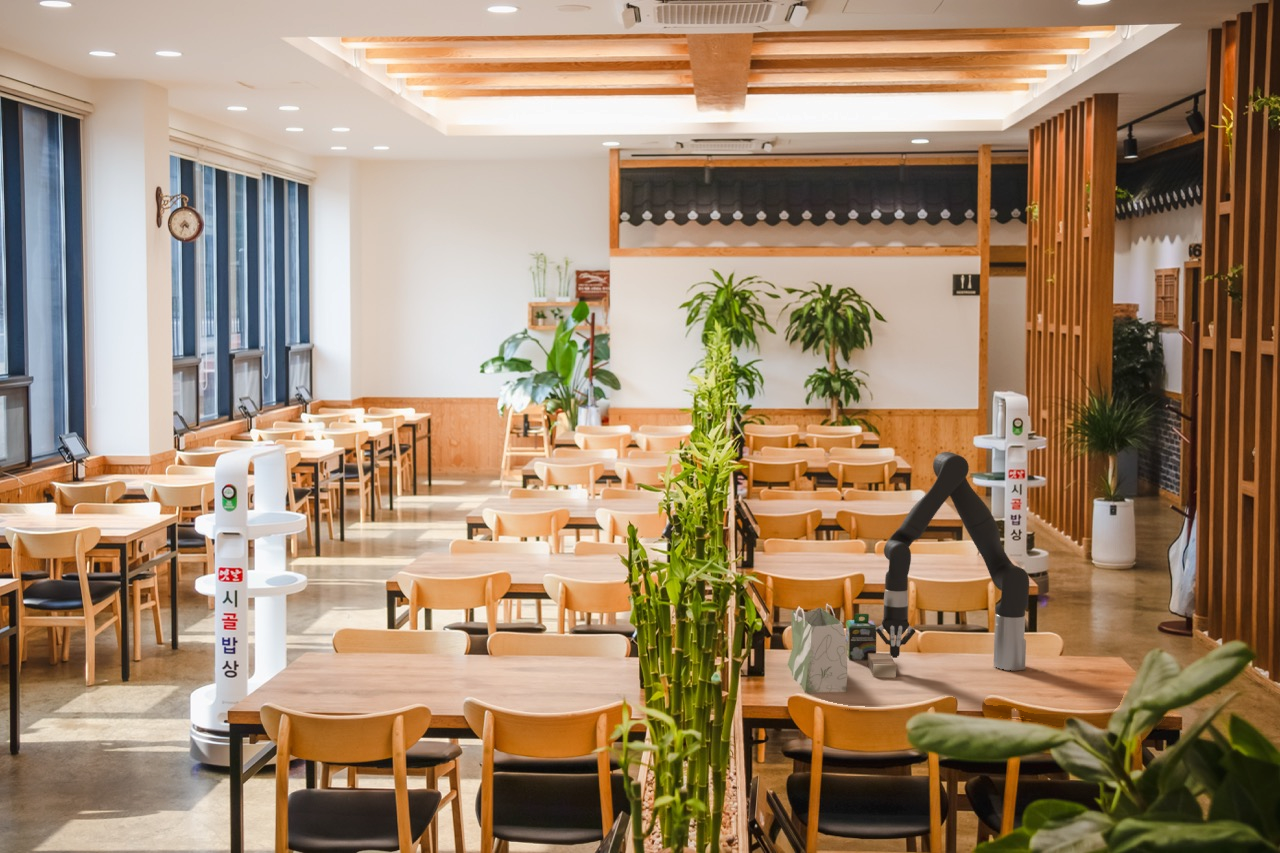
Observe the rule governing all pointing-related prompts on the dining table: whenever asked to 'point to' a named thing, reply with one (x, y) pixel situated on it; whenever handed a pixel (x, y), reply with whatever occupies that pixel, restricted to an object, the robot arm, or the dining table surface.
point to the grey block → (881, 665)
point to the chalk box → (860, 637)
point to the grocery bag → (818, 651)
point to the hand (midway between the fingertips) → (894, 657)
